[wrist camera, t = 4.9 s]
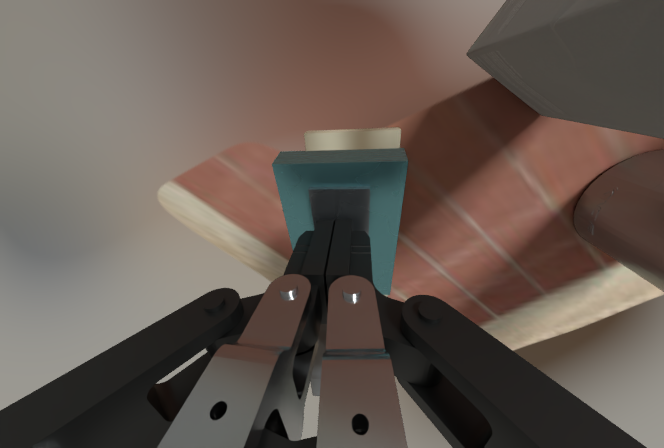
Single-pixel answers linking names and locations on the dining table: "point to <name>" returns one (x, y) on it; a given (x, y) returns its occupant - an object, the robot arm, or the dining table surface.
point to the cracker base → (345, 141)
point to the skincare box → (581, 60)
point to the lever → (346, 197)
